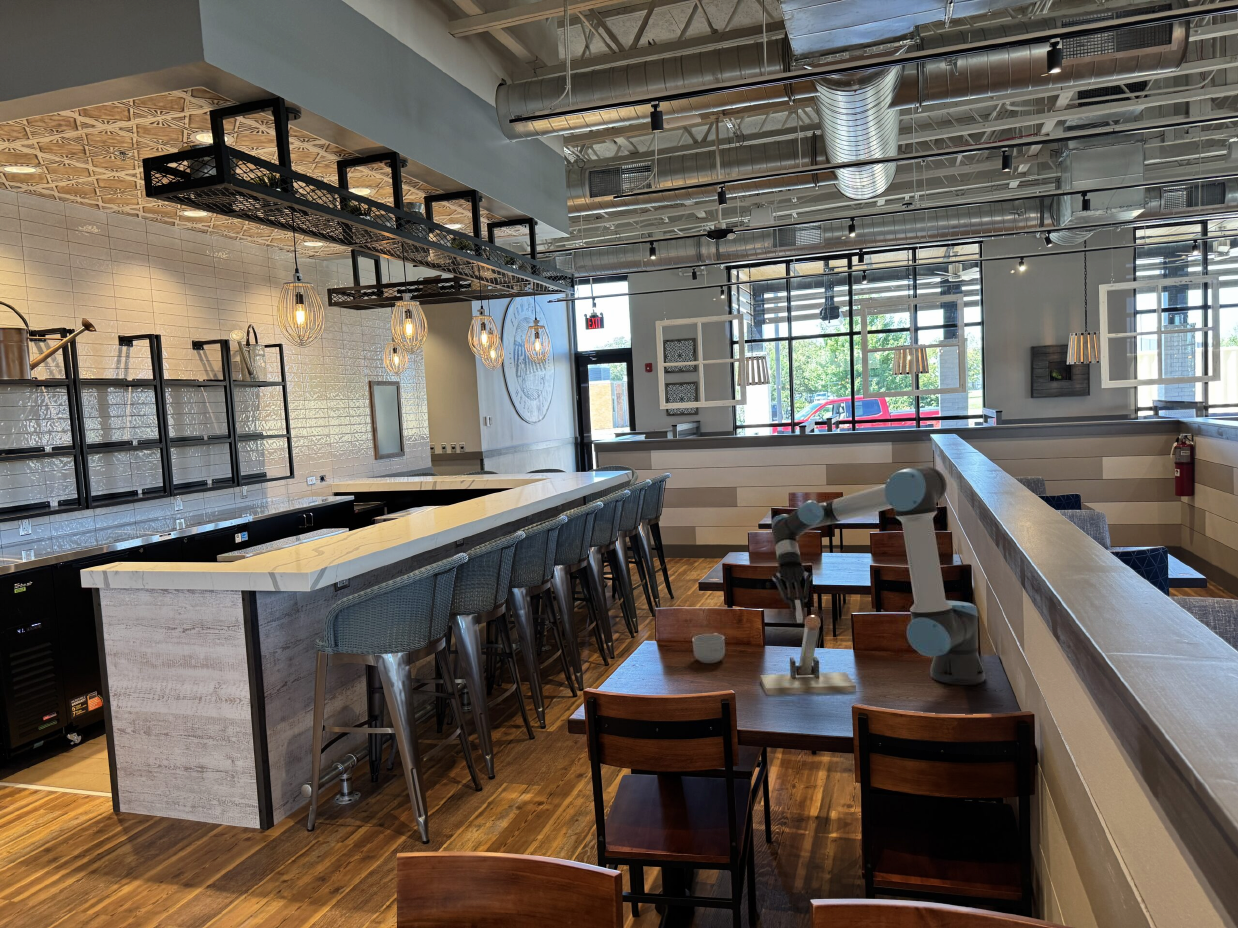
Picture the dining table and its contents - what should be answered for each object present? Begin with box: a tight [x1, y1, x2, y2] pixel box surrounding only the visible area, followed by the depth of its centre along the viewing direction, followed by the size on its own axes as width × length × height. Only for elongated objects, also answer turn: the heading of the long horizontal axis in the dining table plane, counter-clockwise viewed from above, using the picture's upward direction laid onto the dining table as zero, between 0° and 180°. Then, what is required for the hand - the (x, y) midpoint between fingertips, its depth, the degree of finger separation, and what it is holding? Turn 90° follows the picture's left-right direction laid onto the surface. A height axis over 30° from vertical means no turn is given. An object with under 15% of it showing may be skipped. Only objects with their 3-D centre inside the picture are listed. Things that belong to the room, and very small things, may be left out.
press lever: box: [796, 614, 821, 676], centre depth 237 cm, size 5×4×27 cm
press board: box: [759, 656, 857, 696], centre depth 242 cm, size 26×12×8 cm, turn 88°
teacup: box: [691, 632, 726, 664], centre depth 273 cm, size 14×11×8 cm
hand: (800, 620), depth 249 cm, fingers closed
